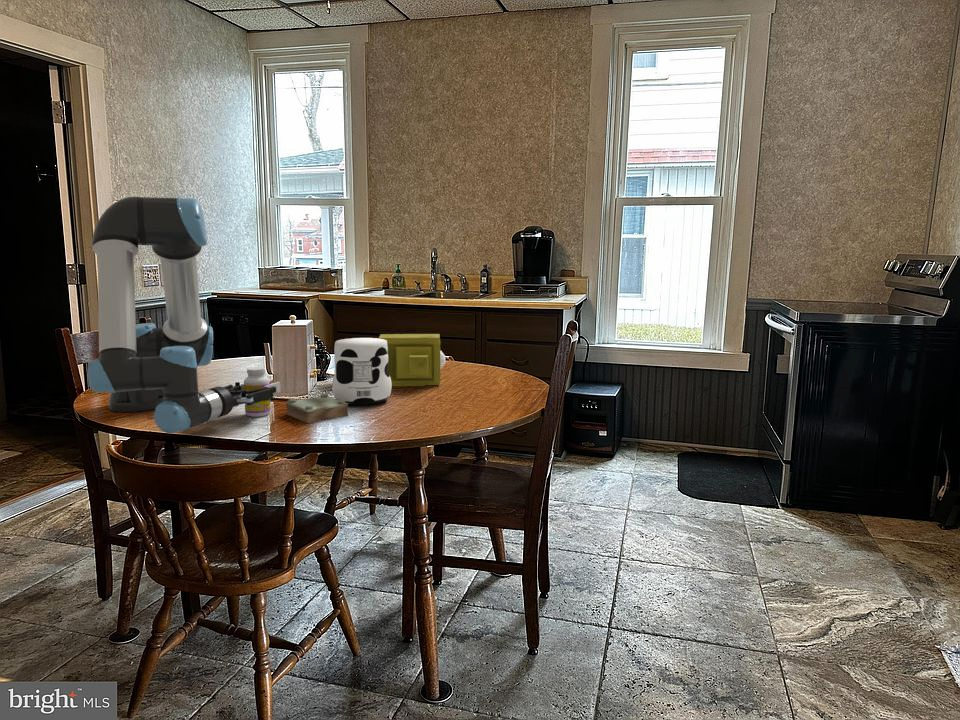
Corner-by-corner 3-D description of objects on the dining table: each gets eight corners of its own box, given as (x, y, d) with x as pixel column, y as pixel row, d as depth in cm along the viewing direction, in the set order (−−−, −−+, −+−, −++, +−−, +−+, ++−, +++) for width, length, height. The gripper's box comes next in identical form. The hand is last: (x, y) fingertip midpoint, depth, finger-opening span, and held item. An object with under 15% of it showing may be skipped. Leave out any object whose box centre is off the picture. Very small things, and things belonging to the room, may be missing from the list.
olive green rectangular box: (445, 333, 230) (445, 340, 214) (445, 380, 233) (445, 390, 217) (340, 334, 228) (333, 341, 212) (342, 381, 231) (335, 391, 215)
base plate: (307, 423, 177) (307, 407, 177) (287, 414, 186) (286, 399, 185) (347, 415, 185) (347, 401, 184) (326, 407, 194) (325, 393, 193)
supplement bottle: (266, 417, 183) (263, 370, 180) (241, 417, 183) (239, 370, 180) (274, 411, 189) (272, 366, 187) (250, 411, 189) (248, 365, 187)
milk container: (365, 392, 214) (363, 335, 211) (404, 400, 203) (403, 341, 200) (320, 402, 201) (318, 341, 197) (359, 411, 190) (357, 347, 187)
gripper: (180, 415, 172) (239, 396, 193) (245, 422, 165) (299, 401, 187) (178, 386, 170) (238, 370, 192) (243, 392, 164) (298, 374, 186)
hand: (268, 385), depth 189 cm, fingers closed on supplement bottle, 7 cm apart
